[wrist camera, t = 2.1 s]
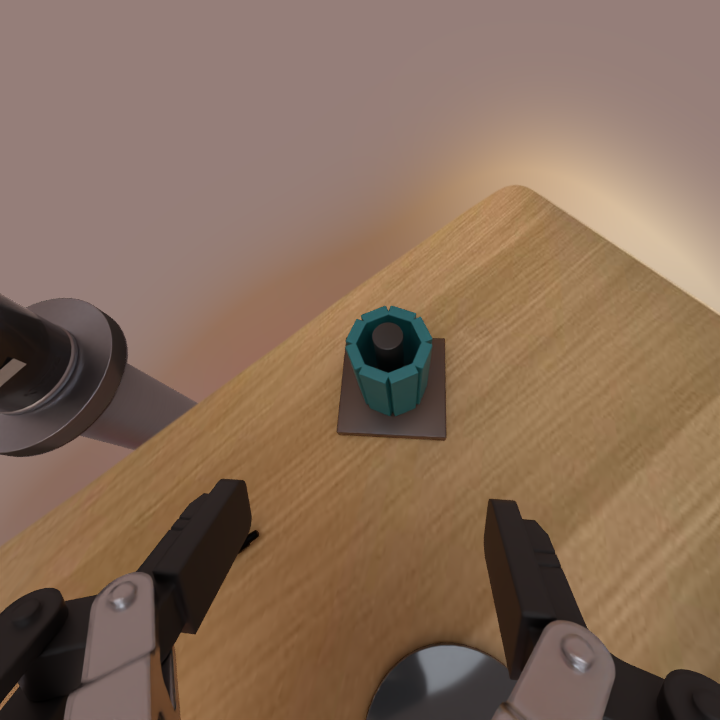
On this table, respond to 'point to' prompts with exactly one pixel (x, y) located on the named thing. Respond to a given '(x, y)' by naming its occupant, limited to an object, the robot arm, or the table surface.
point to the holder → (411, 424)
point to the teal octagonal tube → (399, 385)
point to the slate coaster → (442, 685)
